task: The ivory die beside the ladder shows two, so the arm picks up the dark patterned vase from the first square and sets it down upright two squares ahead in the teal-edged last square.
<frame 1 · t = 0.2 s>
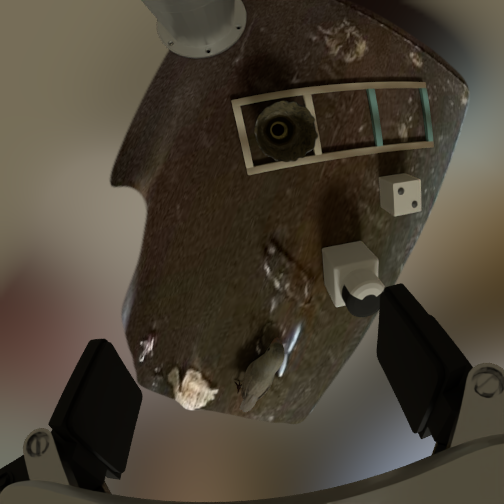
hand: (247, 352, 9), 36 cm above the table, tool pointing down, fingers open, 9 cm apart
ladder: (344, 120, 39), on the table
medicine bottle: (342, 262, 49), on the table
dark patterned vase: (277, 129, 40), resting in ladder
die: (392, 189, 44), on the table
decorative bird: (259, 362, 58), on the table
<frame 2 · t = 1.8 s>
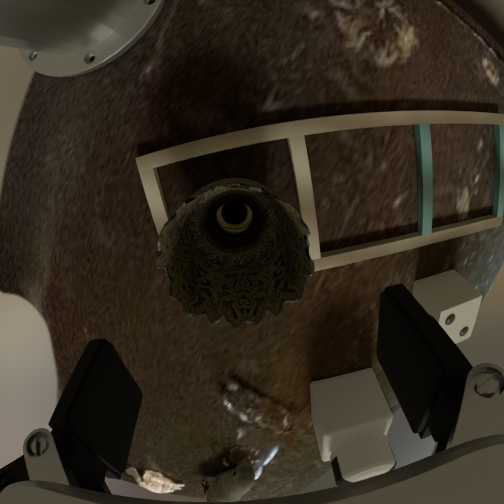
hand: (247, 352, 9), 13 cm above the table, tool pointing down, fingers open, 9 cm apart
ladder: (368, 187, 21), on the table
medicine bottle: (339, 391, 31), on the table
dark patterned vase: (234, 211, 21), resting in ladder
die: (431, 295, 26), on the table
decorative bird: (227, 470, 40), on the table
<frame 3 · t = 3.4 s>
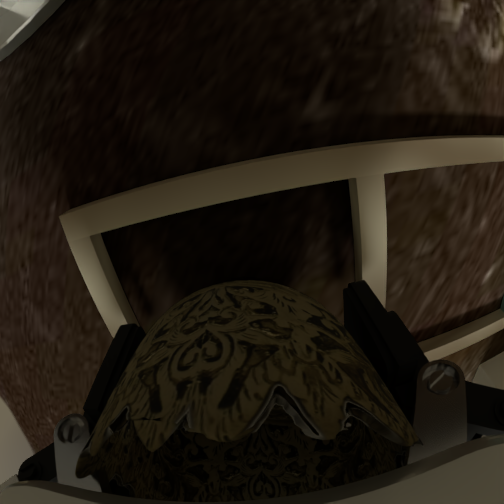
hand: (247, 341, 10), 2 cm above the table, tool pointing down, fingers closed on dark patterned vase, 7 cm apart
ladder: (460, 257, 11), on the table
dark patterned vase: (244, 306, 12), resting in ladder, touching gripper
die: (491, 373, 16), on the table
when the fingers open (3 cm above the table, at t = 10.1 s): dark patterned vase stays where it is, resting in ladder.
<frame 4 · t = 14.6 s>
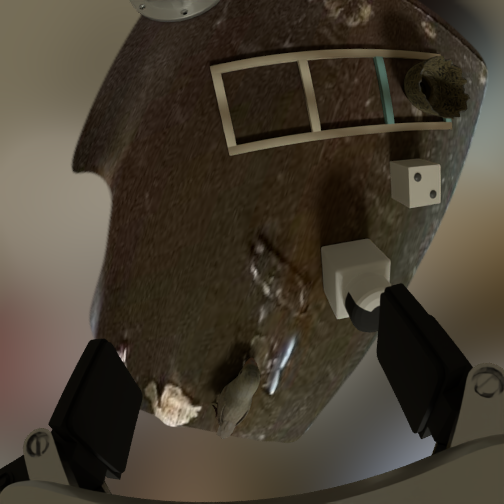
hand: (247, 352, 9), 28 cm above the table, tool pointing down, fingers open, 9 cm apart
ladder: (347, 91, 31), on the table
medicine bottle: (345, 264, 41), on the table
dark patterned vase: (411, 89, 31), resting in ladder
die: (405, 177, 36), on the table
decorative bird: (236, 383, 50), on the table
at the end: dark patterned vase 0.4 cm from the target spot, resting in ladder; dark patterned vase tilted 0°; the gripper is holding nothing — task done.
